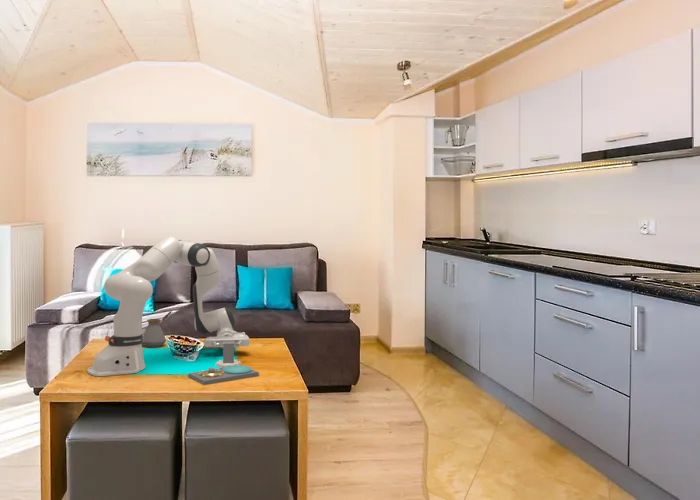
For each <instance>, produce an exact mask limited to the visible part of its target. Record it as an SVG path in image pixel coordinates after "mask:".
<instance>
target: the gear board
mask: <svg viewBox="0 0 700 500" xmlns="http://www.w3.org/2000/svg"><path fill="white" fill-rule="evenodd" d="M187 374H188V375H187V376H188V378H190V379H191V380H193V381H196V382H198V383H200V384H201V385H203V386H205V385H206V386H207V385H212V384H217V383H224V382H230V381H236V380H241V379H243V380H244V379H247V378H248V379H249V378H254V377H259V375H260V372H259V371H257V370H255V369H253V368H252V367H251V366H249V365H243V364H242V365H233V366H227V367H224V368H215V367H214V366H213V367H208V369H206V370H201V371H194V372H193V371H192V372H189V373H187Z"/></svg>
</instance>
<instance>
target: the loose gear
mask: <svg viewBox="0 0 700 500" xmlns="http://www.w3.org/2000/svg"><path fill="white" fill-rule="evenodd" d="M241 364H242V362H241V361H240V360H239V361H238V359H235V347H234V341H230V342H223V348H222V360H221V359H219V360H218V361H216V362H215V367H218V369H220V368H224V367H227V366H233V365H241Z"/></svg>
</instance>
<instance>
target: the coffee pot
mask: <svg viewBox="0 0 700 500" xmlns="http://www.w3.org/2000/svg"><path fill="white" fill-rule="evenodd" d="M170 315H172V316H173V315H174V312H173V311H169V312H167V314H166V315H165V316H163V318H162V319H160V318H149V319H146V321H147V323H148V325H147V327H146V329H145V331H144V333H143V346H145V347H146V348H159V347H162V346H163V345H164V344H165V343H166V342H167V339H165V338H166V336H165V334H164V331H163V330H162V327H161V323H163V322H164V321H165V320H166V319H168V317H169V316H170Z"/></svg>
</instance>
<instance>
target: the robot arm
mask: <svg viewBox="0 0 700 500" xmlns="http://www.w3.org/2000/svg"><path fill="white" fill-rule="evenodd" d="M174 263H175V264H180V265H183V266H187V267H194V269H195V273H196V281H195V283H194V284H193V285H192V300H193V311H194V318H193V319H194V322H193V325H194V329H195V331H196V332H197V333H198V334H200V335H203V336H205V335H208V334H210V333H212V332H216V331H217V332H216V336H207V337H206V338H204V340H203V343H204V347H205V348H220V349H223V342H230V341H234V348H236V347H237V348H238V347H239V348H240V347H249V346H250V337H249V336H248V335H247V334H246V332H244V331H238V330H237V331H236V330H234V329H235V327H236V322H235V318H234V315H233V313H232V311H231V309H229V308H227V307H222V308H219V309H218V308H217V309H214V310H211V311H207V312H204V310H203V298H204V297H205V296H206V295H207V294H208V293H209V292H210V291H211V292H212V291H213V290H214V289H216V288H217V287H218V286H219V284H220V283H221V281H222V272H221V267H220V263H219V261H218V258H217V256H216V253H215V252H214V250H213V249H212V248H210V247H207V246H206V245H204V244H202V243H200V242H194V241H193V240H192V241H191V240H184V239H183V240H182V239H178V238H176V237H175V236H170V235H169V236H166V237H163V238H162V239H160V240H159V241H158V242H157V243H155V244H154V245H153V246H152V247H150V248H149V249H148V250H147V251H146V252H145V253H144V254H143V255H142V256H141V257H139V258H138V260H136V261H134V262H133V263H132V264H130V265H129V266H127V267H125V268H124V269H122V270H120V271H119V272H117V273H114V274H113V275H112V274H111V275H110V276H108V278H106V280H105V281H104V284H103V286H104V287H103V289H104V293H106V295H107V296H109V297H110V298H112V299H113V300H116V301H120V302H119V307H118V310H117V311H116V313H115V314H114V315H113V334H112V335H111V336H108V335H106V336H105V337H104V341H106V342H108V345H107V346H105V347H104V348H103V349H101V350H100V351H99V352H98V353H97V354H96V355H95V356H94V358H93V361H92V362H93V363H92V366H89V367H88V368H87V369H86V372H87V373H88V374H89V375H91V376H94V377H106V376H108V377H109V376H117V375H129V374H137V373H139V372H140V371H144V369H146V364H145V360H144V353H143V347H144V344H143V336H144V333H143V331H142V330H143V329H142V327H143V314H144V310H145V306H146V304H147V302H148V301H149V300H150V299H151V298H152V295H153V290H154V289H153V285H152V283H151V282H152V281H156V280H157V279H159V278H160V276H162V275H163V273H165V271H167V270H168V269H169V267H171V266H172V265H173V264H174Z"/></svg>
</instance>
